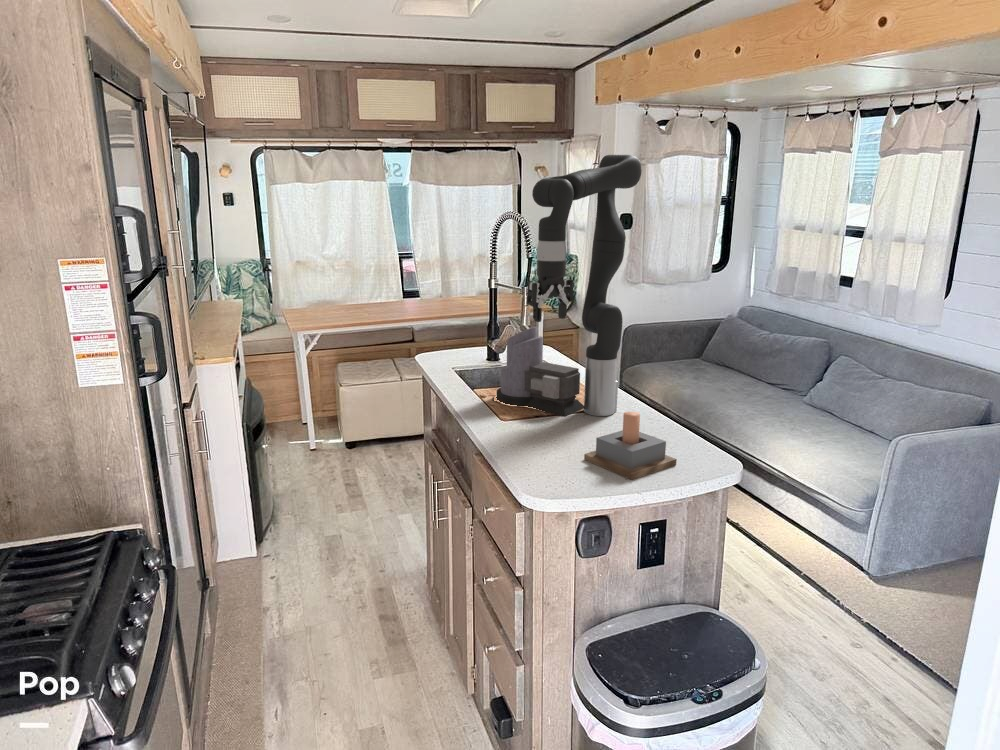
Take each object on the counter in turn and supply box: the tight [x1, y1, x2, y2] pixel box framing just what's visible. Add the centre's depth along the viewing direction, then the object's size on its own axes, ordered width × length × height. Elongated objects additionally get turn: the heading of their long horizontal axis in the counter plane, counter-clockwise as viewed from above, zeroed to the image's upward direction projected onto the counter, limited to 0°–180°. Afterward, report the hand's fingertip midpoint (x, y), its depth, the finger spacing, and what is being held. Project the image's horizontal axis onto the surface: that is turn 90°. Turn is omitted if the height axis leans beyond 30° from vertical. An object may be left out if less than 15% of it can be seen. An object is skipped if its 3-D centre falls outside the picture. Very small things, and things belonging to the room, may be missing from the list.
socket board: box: [583, 450, 677, 481], centre depth 178 cm, size 16×16×2 cm
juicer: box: [496, 326, 584, 418], centre depth 223 cm, size 30×16×24 cm, turn 52°
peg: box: [622, 411, 641, 445], centre depth 176 cm, size 4×4×11 cm
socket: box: [595, 429, 667, 469], centre depth 177 cm, size 12×12×4 cm
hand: (550, 319), depth 190 cm, fingers open, 8 cm apart
